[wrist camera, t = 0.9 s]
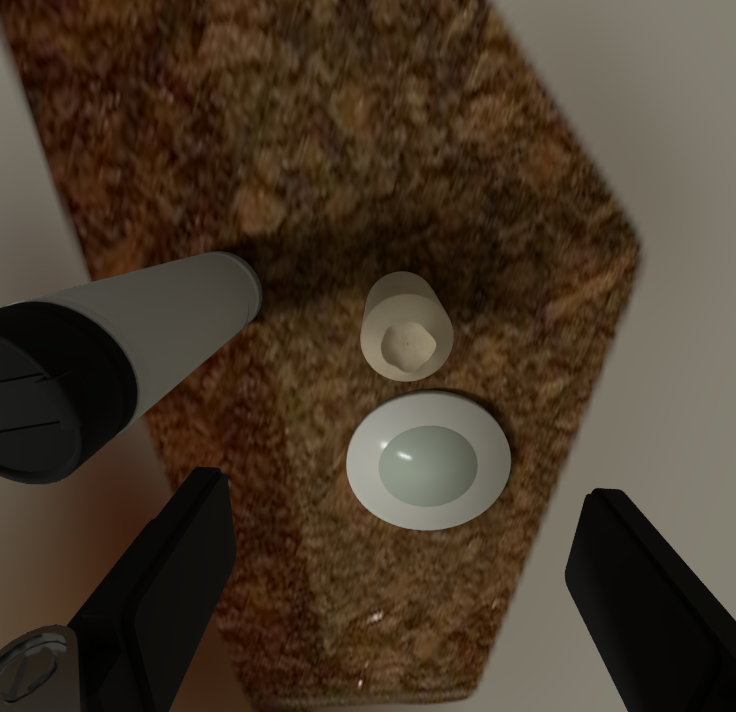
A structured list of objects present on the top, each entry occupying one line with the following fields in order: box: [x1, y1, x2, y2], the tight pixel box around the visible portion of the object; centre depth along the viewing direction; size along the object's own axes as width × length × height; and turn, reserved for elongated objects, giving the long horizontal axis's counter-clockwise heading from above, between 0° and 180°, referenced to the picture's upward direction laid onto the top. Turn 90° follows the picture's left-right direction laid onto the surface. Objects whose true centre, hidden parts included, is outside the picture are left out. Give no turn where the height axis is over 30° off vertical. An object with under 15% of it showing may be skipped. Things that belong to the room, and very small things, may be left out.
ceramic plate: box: [346, 390, 511, 530], centre depth 35 cm, size 15×15×1 cm
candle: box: [361, 271, 453, 381], centre depth 26 cm, size 6×6×10 cm
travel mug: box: [0, 251, 263, 484], centre depth 21 cm, size 6×7×20 cm
